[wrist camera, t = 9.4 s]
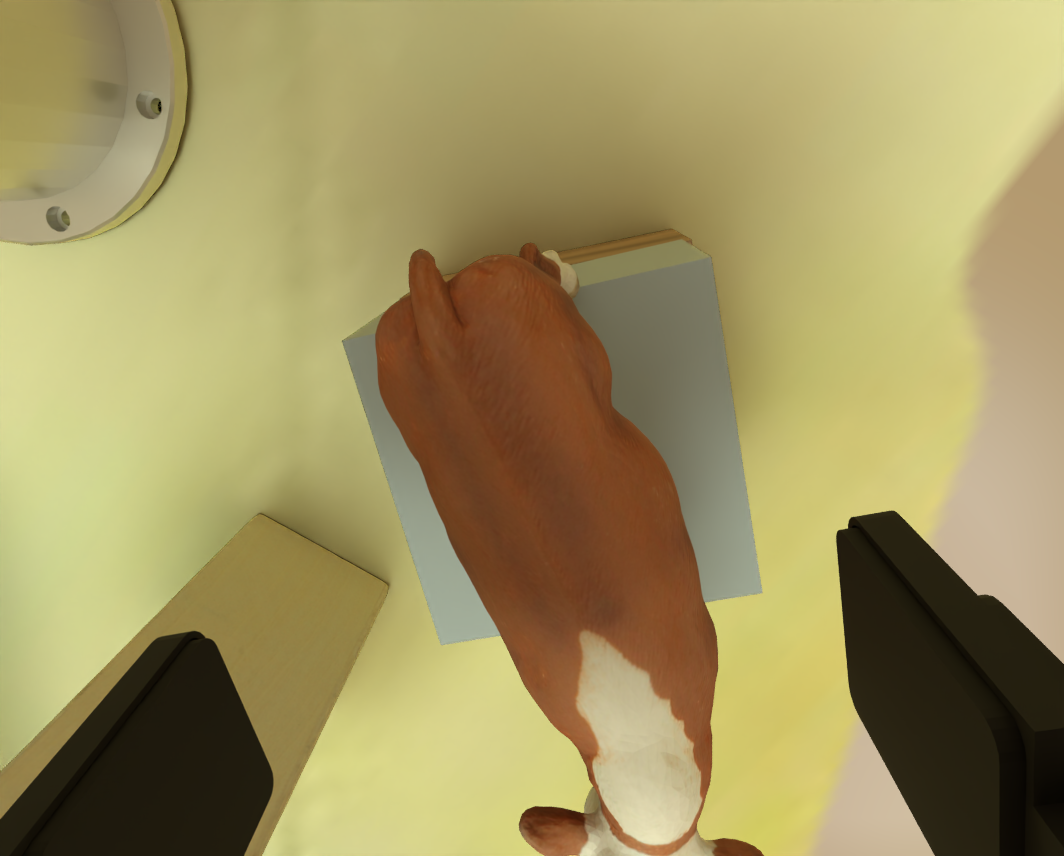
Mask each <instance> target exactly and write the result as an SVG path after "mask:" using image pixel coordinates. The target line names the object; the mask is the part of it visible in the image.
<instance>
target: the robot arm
mask: <svg viewBox="0 0 1064 856" xmlns="http://www.w3.org/2000/svg"><path fill="white" fill-rule="evenodd" d="M187 90H188V84H187V73H186V61H185V49H184V45H183V41H182V37H181V33H180V29H179V25H178V21H177V17H176V13H175V9H174V6H173V4H172V2H171V0H0V241H1V242H9V243H16V244H24V245H43V244H56V243H65V242H70V241H76V240H81V239H86V238H91V237H94V236H96V235H98V234H100V233H103V232H105V231H107V230H110V229H112V228H114V227H117V226H118V225H120V224H121V223H122V222H124V221H125V220H126V219H128V218H129V217H130V216H132V215H133V214H134V213H136V212H137V211H138V210H140V209H141V208H142V207H143V206H144V204H145V203H146V202H147V201H148V200H149V198H150V197H151V196H152V195H153V194H154V192H155V191H156V190H157V189H158V188H159V186H160V185H161V183H162V182H163V180H164V178H165V176H166V174H167V172H168V170H169V168H170V166H171V164H172V162H173V160H174V158H175V156H176V153H177V149H178V145H179V142H180V138H181V135H182V131H183V128H184V124H185V113H186V102H187ZM159 101H161V106H162V110H161V113H160V112H159V110H158V103H159ZM836 542H837V554H838V565H839V577H840V588H841V600H842V612H843V623H844V635H845V646H846V658H847V670H848V681H849V689H850V693H851V697H852V700H853V703H854V706H855V709H856V711H857V713H858V715H859V717H860V719H861V721H862V722H863V724H864V726H865V728H866V730H867V732H868V733H869V735H870V737H871V739H872V741H873V743H874V744H875V746H876V748H877V750H878V752H879V753H880V755H881V757H882V759H883V761H884V762H885V765H886V767H887V768H888V770H889V772H890V774H891V776H892V778H893V779H894V781H895V783H896V785H897V787H898V789H899V790H900V792H901V794H902V796H903V798H904V800H905V802H906V803H907V805H908V807H909V809H910V811H911V812H912V814H913V816H914V818H915V820H916V822H917V824H918V825H919V827H920V829H921V831H922V833H923V835H924V837H925V838H926V840H927V842H928V844H929V846H930V847H931V849H932V851H933V853H934V855H935V856H1064V664H1063V663H1062V662H1061V661H1060V660H1059V659H1058V658H1057V657H1056V656H1055V655H1054V654H1053V653H1052V652H1051V651H1050V650H1049V649H1048V648H1047V647H1046V646H1045V645H1044V644H1043V643H1042V642H1041V641H1040V640H1039V639H1038V638H1037V637H1036V636H1035V635H1034V634H1033V633H1032V632H1031V631H1030V630H1029V629H1028V628H1027V627H1026V626H1025V625H1024V624H1023V623H1022V622H1020V620H1019V619H1017V618H1016V616H1015V615H1014V614H1012V612H1011V611H1010V610H1009V609H1007V607H1005V606H1004V605H1003V604H1002V603H1001V602H1000V601H999V600H997V599H996V598H995V597H993V596H989V595H979V596H978V595H977V594H976V593H975V592H974V591H973V590H972V589H971V588H970V587H969V586H968V585H967V584H966V583H965V582H964V581H963V580H962V579H961V578H960V577H959V576H958V575H957V574H956V573H955V572H954V571H953V570H952V569H951V568H950V566H949V565H948V564H947V563H946V562H945V561H944V560H943V559H942V558H941V557H940V556H939V555H938V554H937V553H936V552H935V551H934V550H933V549H932V548H931V547H930V546H929V545H928V544H927V543H926V542H925V541H924V540H923V539H922V538H921V537H920V536H919V534H918V533H917V532H916V531H915V530H914V529H913V528H912V527H911V526H910V525H909V524H908V523H907V522H906V521H905V520H904V519H903V518H902V517H901V516H900V515H899V514H898V513H897V512H895V511H886V512H880V513H874V514H869V515H863V516H857V517H851V518H850V520H849V523H848V529H843V530H838V532H837V535H836ZM273 786H274V778H273V772H272V769H271V766H270V764H269V762H268V760H267V757H266V755H265V753H264V751H263V748H262V746H261V744H260V742H259V739H258V737H257V735H256V732H255V730H254V728H253V726H252V723H251V721H250V719H249V717H248V714H247V712H246V710H245V708H244V705H243V703H242V701H241V699H240V696H239V694H238V692H237V690H236V687H235V685H234V683H233V681H232V678H231V676H230V674H229V672H228V669H227V667H226V665H225V663H224V660H223V658H222V656H221V653H220V651H219V649H218V647H217V645H216V643H215V642H214V641H213V640H212V639H209V638H205V636H204V635H203V634H202V633H201V632H198V631H189V632H184V633H178V634H172V635H166V636H161V637H158V638H156V639H155V640H154V641H153V642H152V643H151V644H150V645H149V646H148V647H147V649H146V650H145V651H144V652H143V653H142V654H141V656H140V657H139V658H138V659H137V660H136V661H135V663H134V664H133V665H132V666H131V667H130V668H129V669H128V671H127V672H126V673H125V674H124V675H123V676H122V678H121V679H120V680H119V681H118V682H117V683H116V685H115V686H114V687H113V688H112V689H111V690H110V692H109V693H108V694H107V695H106V696H105V697H104V699H103V700H102V701H101V702H100V703H99V704H98V706H97V707H96V708H95V709H94V710H93V711H92V713H91V714H90V715H89V716H88V717H87V718H86V720H85V721H84V722H83V723H82V724H81V725H80V727H79V728H78V729H77V730H76V731H75V732H74V734H73V735H72V736H71V737H70V738H69V739H68V741H67V742H66V743H65V744H64V745H63V746H62V748H61V749H60V750H59V751H58V752H57V753H56V755H55V756H54V757H53V758H52V759H51V760H50V762H49V763H48V764H47V765H46V766H45V767H44V769H43V770H42V771H41V772H40V773H39V774H38V776H37V777H36V778H35V779H34V780H33V781H32V783H31V784H30V785H29V786H28V787H27V788H26V790H25V791H24V792H23V793H22V794H21V795H20V797H19V798H18V799H17V800H16V801H15V802H14V804H13V805H12V806H11V807H10V808H9V809H8V811H7V812H6V813H5V814H4V815H3V816H2V818H1V819H0V856H244V855H245V853H246V850H247V848H248V846H249V844H250V842H251V840H252V837H253V835H254V833H255V831H256V829H257V826H258V824H259V822H260V820H261V818H262V816H263V813H264V811H265V809H266V807H267V805H268V802H269V800H270V798H271V795H272V792H273Z"/></svg>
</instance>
